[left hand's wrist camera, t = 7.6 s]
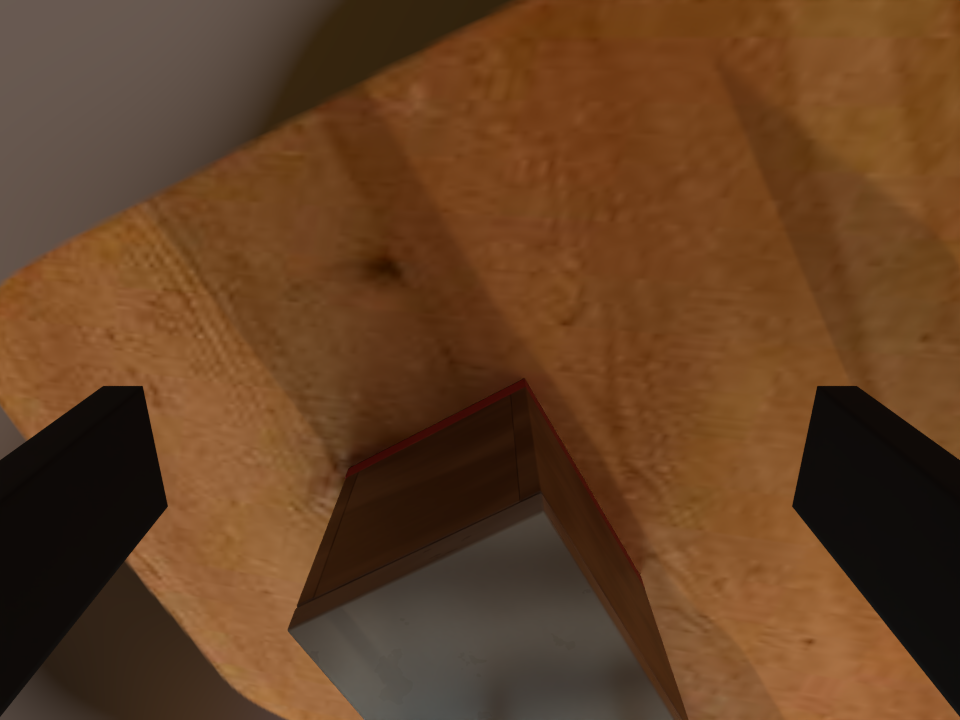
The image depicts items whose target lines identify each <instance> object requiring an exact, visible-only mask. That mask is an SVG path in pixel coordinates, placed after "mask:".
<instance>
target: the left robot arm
mask: <svg viewBox="0 0 960 720" xmlns="http://www.w3.org/2000/svg"><path fill="white" fill-rule="evenodd" d="M167 507H168V505H167V500H166V495H165V491H164V486H163V481H162V476H161V472H160V467H159V462H158V457H157V452H156V448H155V443H154V438H153V433H152V429H151V424H150V419H149V414H148V409H147V405H146V400H145V395H144V390H143V386H103V387H101V388H100V389H98V390H97V391H96V392H94V393H93V394H92V395H90V396H89V397H87V398H86V399H85V400H83V401H82V402H80V403H79V404H78V405H76V406H75V407H73V408H72V409H71V410H69V411H68V412H67V413H65V414H64V415H62V416H61V417H60V418H58V419H57V420H55V421H54V422H53V423H51V424H50V425H48V426H47V427H46V428H44V429H43V430H42V431H40V432H39V433H37V434H36V435H35V436H33V437H32V438H30V439H29V440H28V441H26V442H25V443H23V444H22V445H21V446H19V447H18V448H17V449H15V450H14V451H12V452H11V453H10V454H8V455H7V456H5V457H4V458H3V459H1V460H0V716H1V715H2V714H3V713H4V711H5V710H6V709H7V708H8V706H9V705H10V704H11V703H12V701H13V700H14V699H15V698H16V696H17V695H18V694H19V693H20V691H21V690H22V689H23V687H24V686H25V685H26V684H27V682H28V681H29V680H30V679H31V677H32V676H33V675H34V674H35V672H36V671H37V670H38V669H39V667H40V666H41V665H42V664H43V662H44V661H45V660H46V659H47V657H48V656H49V655H50V654H51V652H52V651H53V650H54V649H55V647H56V646H57V645H58V644H59V642H60V641H61V640H62V639H63V637H64V636H65V635H66V633H67V632H68V631H69V630H70V629H71V627H72V626H73V625H74V624H75V622H76V621H77V620H78V619H79V617H80V616H81V615H82V613H83V612H84V611H85V610H86V608H87V607H88V606H89V605H90V603H91V602H92V601H93V600H94V598H95V597H96V596H97V595H98V593H99V592H100V591H101V590H102V588H103V587H104V586H105V585H106V583H107V582H108V581H109V580H110V578H111V577H112V576H113V575H114V573H115V572H116V571H117V570H118V568H119V567H120V566H121V564H122V563H123V562H124V561H125V560H126V558H127V557H128V556H129V555H130V553H131V552H132V551H133V549H134V548H135V547H136V546H137V544H138V543H139V542H140V541H141V539H142V538H143V537H144V536H145V534H146V533H147V532H148V531H149V529H150V528H151V527H152V526H153V524H154V523H155V522H156V521H157V519H158V518H159V517H160V516H161V514H162V513H163V512H164V511H165V509H166V508H167ZM792 507H793V508H794V509H795V511H796V512H797V513H798V514H799V516H800V517H801V518H802V519H803V521H804V522H805V523H806V524H807V526H808V527H809V528H810V529H811V531H812V532H813V533H814V534H815V536H816V537H817V538H818V539H819V541H820V542H821V543H822V544H823V546H824V547H825V548H826V549H827V551H828V552H829V553H830V555H831V556H832V557H833V558H834V560H835V561H836V562H837V563H838V565H839V566H840V567H841V568H842V570H843V571H844V572H845V573H846V575H847V576H848V577H849V578H850V580H851V581H852V582H853V583H854V585H855V586H856V587H857V588H858V590H859V591H860V592H861V593H862V595H863V596H864V597H865V598H866V600H867V601H868V602H869V603H870V605H871V606H872V607H873V608H874V610H875V611H876V612H877V613H878V615H879V616H880V617H881V619H882V620H883V621H884V622H885V624H886V625H887V626H888V627H889V629H890V630H891V631H892V632H893V634H894V635H895V636H896V637H897V639H898V640H899V641H900V642H901V644H902V645H903V646H904V647H905V649H906V650H907V651H908V652H909V654H910V655H911V656H912V657H913V659H914V660H915V661H916V662H917V664H918V665H919V666H920V667H921V669H922V670H923V671H924V672H925V674H926V675H927V676H928V677H929V679H930V680H931V681H932V682H933V684H934V685H935V686H936V688H937V689H938V690H939V691H940V693H941V694H942V695H943V696H944V698H945V699H946V700H947V701H948V703H949V704H950V705H951V706H952V708H953V709H954V710H955V711H956V713H957V714H958V715H959V716H960V460H959V459H957V458H956V457H955V456H953V455H952V454H950V453H949V452H948V451H946V450H945V449H943V448H942V447H941V446H939V445H938V444H937V443H935V442H934V441H932V440H931V439H930V438H928V437H927V436H925V435H924V434H923V433H921V432H920V431H918V430H917V429H916V428H914V427H913V426H912V425H910V424H909V423H907V422H906V421H905V420H903V419H902V418H900V417H899V416H898V415H896V414H895V413H893V412H892V411H891V410H889V409H888V408H887V407H885V406H884V405H882V404H881V403H880V402H878V401H877V400H875V399H874V398H873V397H871V396H870V395H868V394H867V393H866V392H864V391H863V390H862V389H860V388H859V387H857V386H817V390H816V395H815V400H814V405H813V409H812V414H811V419H810V424H809V429H808V433H807V438H806V443H805V448H804V452H803V457H802V462H801V467H800V472H799V476H798V481H797V486H796V491H795V495H794V500H793V505H792Z"/></svg>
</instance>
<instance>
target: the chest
mask: <svg viewBox="0 0 960 720" xmlns="http://www.w3.org/2000/svg"><path fill="white" fill-rule="evenodd" d="M537 494H542V495H543V497H544V498H545V500H546V502H547V503H548V505H549V506H550V508H551V510H552V511H553V513H554V514H555V516H556V518H557V519H558V521H559V522H560V524H561V526H562V527H563V529H564V531H565V532H566V534H567V535H568V537H569V539H570V540H571V542H572V543H573V545H574V547H575V548H576V550H577V552H578V553H579V555H580V556H581V558H582V560H583V561H584V563H585V564H586V566H587V568H588V569H589V571H590V572H591V574H592V576H593V577H594V579H595V581H596V582H597V584H598V585H599V587H600V589H601V590H602V592H603V593H604V595H605V597H606V598H607V600H608V602H609V603H610V605H611V606H612V608H613V610H614V611H615V613H616V614H617V616H618V618H619V619H620V621H621V622H622V624H623V626H624V627H625V629H626V631H627V632H628V634H629V635H630V637H631V639H632V640H633V642H634V643H635V645H636V647H637V648H638V650H639V652H640V653H641V655H642V656H643V658H644V660H645V661H646V663H647V664H648V666H649V668H650V669H651V671H652V673H653V674H654V676H655V677H656V679H657V681H658V682H659V684H660V685H661V687H662V689H663V690H664V692H665V693H666V695H667V697H668V698H669V700H670V702H671V703H672V705H673V706H674V708H675V710H676V711H677V713H678V714H679V716H680V718H681V719H682V720H688V717H687V714H686V711H685V708H684V705H683V702H682V699H681V696H680V693H679V690H678V687H677V684H676V681H675V678H674V675H673V672H672V669H671V666H670V663H669V660H668V657H667V654H666V651H665V648H664V645H663V642H662V639H661V636H660V633H659V630H658V627H657V624H656V621H655V618H654V615H653V612H652V609H651V606H650V603H649V600H648V597H647V594H646V591H645V587H644V584H643V581H642V578H641V576H640V574H639V573H638V571H637V569H636V567H635V566H634V564H633V562H632V561H631V559H630V557H629V556H628V554H627V552H626V550H625V549H624V547H623V545H622V544H621V542H620V540H619V538H618V537H617V535H616V533H615V532H614V530H613V528H612V527H611V525H610V523H609V521H608V520H607V518H606V516H605V515H604V513H603V511H602V510H601V508H600V506H599V504H598V503H597V501H596V499H595V498H594V496H593V494H592V492H591V491H590V489H589V487H588V486H587V484H586V482H585V481H584V479H583V477H582V475H581V474H580V472H579V470H578V469H577V467H576V465H575V463H574V462H573V460H572V458H571V457H570V455H569V453H568V452H567V450H566V448H565V446H564V445H563V443H562V441H561V440H560V438H559V436H558V435H557V433H556V431H555V429H554V428H553V426H552V424H551V423H550V421H549V419H548V417H547V416H546V414H545V412H544V411H543V409H542V407H541V406H540V404H539V402H538V400H537V399H536V397H535V395H534V394H533V392H532V390H531V388H530V387H529V385H528V383H527V382H526V380H525V379H523V380H521V381H519V382H517V383H515V384H513V385H511V386H509V387H507V388H505V389H503V390H501V391H499V392H497V393H495V394H493V395H491V396H489V397H487V398H485V399H483V400H482V401H480V402H478V403H476V404H474V405H472V406H470V407H468V408H466V409H464V410H462V411H460V412H458V413H456V414H454V415H452V416H450V417H448V418H446V419H444V420H442V421H441V422H439V423H437V424H435V425H433V426H431V427H429V428H427V429H425V430H423V431H421V432H419V433H417V434H415V435H413V436H411V437H409V438H407V439H405V440H403V441H401V442H399V443H398V444H396V445H394V446H392V447H390V448H388V449H386V450H384V451H382V452H380V453H378V454H376V455H374V456H372V457H370V458H368V459H366V460H364V461H362V462H360V463H358V464H357V465H355V466H353V467H351V468H349V469H348V471H347V474H346V477H345V482H344V484H343V487H342V490H341V492H340V495H339V497H338V500H337V503H336V505H335V508H334V510H333V513H332V516H331V518H330V521H329V523H328V526H327V529H326V531H325V534H324V536H323V539H322V542H321V544H320V547H319V549H318V552H317V555H316V557H315V560H314V562H313V565H312V567H311V570H310V573H309V575H308V578H307V580H306V583H305V586H304V588H303V591H302V593H301V596H300V599H299V601H298V604H297V608H298V607H300V606H302V605H304V604H306V603H308V602H311V601H313V600H315V599H317V598H319V597H321V596H323V595H325V594H327V593H330V592H332V591H334V590H336V589H338V588H340V587H342V586H344V585H347V584H349V583H351V582H353V581H355V580H357V579H359V578H361V577H364V576H366V575H368V574H370V573H372V572H374V571H376V570H378V569H381V568H383V567H385V566H387V565H389V564H391V563H393V562H395V561H397V560H400V559H402V558H404V557H406V556H408V555H410V554H412V553H414V552H417V551H419V550H421V549H423V548H425V547H427V546H429V545H431V544H434V543H436V542H438V541H440V540H442V539H444V538H446V537H448V536H450V535H453V534H455V533H457V532H459V531H461V530H463V529H465V528H467V527H470V526H472V525H474V524H476V523H478V522H480V521H482V520H484V519H487V518H489V517H491V516H493V515H495V514H497V513H499V512H501V511H503V510H506V509H508V508H510V507H512V506H514V505H516V504H518V503H520V502H523V501H525V500H527V499H529V498H531V497H533V496H535V495H537Z"/></svg>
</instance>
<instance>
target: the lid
mask: <svg viewBox="0 0 960 720" xmlns="http://www.w3.org/2000/svg"><path fill="white" fill-rule="evenodd" d="M288 632H289V633H290V634H291V635H292V636H293V638H294V639H295V640H296V641H297V642H298V643H299V645H300V646H301V647H302V648H303V649H304V650H305V652H306V653H307V654H308V655H309V656H310V657H311V658H312V660H313V661H314V662H315V663H316V664H317V665H318V667H319V668H320V669H321V670H322V671H323V672H324V674H325V675H326V676H327V677H328V678H329V679H330V680H331V682H332V683H333V684H334V685H335V686H336V687H337V689H338V690H339V691H340V692H341V693H342V694H343V695H344V697H345V698H346V699H347V700H348V701H349V702H350V704H351V705H352V706H353V707H354V708H355V709H356V711H357V712H358V713H359V714H360V715H361V716H362V717H363V719H364V720H682V719H681V718H680V716H679V714H678V713H677V711H676V710H675V708H674V706H673V705H672V703H671V702H670V700H669V698H668V697H667V695H666V693H665V692H664V690H663V689H662V687H661V685H660V684H659V682H658V681H657V679H656V677H655V676H654V674H653V673H652V671H651V669H650V668H649V666H648V664H647V663H646V661H645V660H644V658H643V656H642V655H641V653H640V652H639V650H638V648H637V647H636V645H635V643H634V642H633V640H632V639H631V637H630V635H629V634H628V632H627V631H626V629H625V627H624V626H623V624H622V622H621V621H620V619H619V618H618V616H617V614H616V613H615V611H614V610H613V608H612V606H611V605H610V603H609V602H608V600H607V598H606V597H605V595H604V593H603V592H602V590H601V589H600V587H599V585H598V584H597V582H596V581H595V579H594V577H593V576H592V574H591V572H590V571H589V569H588V568H587V566H586V564H585V563H584V561H583V560H582V558H581V556H580V555H579V553H578V552H577V550H576V548H575V547H574V545H573V543H572V542H571V540H570V539H569V537H568V535H567V534H566V532H565V531H564V529H563V527H562V526H561V524H560V522H559V521H558V519H557V518H556V516H555V514H554V513H553V511H552V510H551V508H550V506H549V505H548V503H547V502H546V500H545V498H544V497H543V495H542V494H537V495H535V496H533V497H531V498H529V499H527V500H525V501H523V502H520V503H518V504H516V505H514V506H512V507H510V508H508V509H506V510H503V511H501V512H499V513H497V514H495V515H493V516H491V517H489V518H487V519H484V520H482V521H480V522H478V523H476V524H474V525H472V526H470V527H467V528H465V529H463V530H461V531H459V532H457V533H455V534H453V535H450V536H448V537H446V538H444V539H442V540H440V541H438V542H436V543H434V544H431V545H429V546H427V547H425V548H423V549H421V550H419V551H417V552H414V553H412V554H410V555H408V556H406V557H404V558H402V559H400V560H397V561H395V562H393V563H391V564H389V565H387V566H385V567H383V568H381V569H378V570H376V571H374V572H372V573H370V574H368V575H366V576H364V577H361V578H359V579H357V580H355V581H353V582H351V583H349V584H347V585H344V586H342V587H340V588H338V589H336V590H334V591H332V592H330V593H327V594H325V595H323V596H321V597H319V598H317V599H315V600H313V601H311V602H308V603H306V604H304V605H302V606H300V607H298V608H296V609H295V611H294V614H293V617H292V619H291V622H290V624H289V627H288Z"/></svg>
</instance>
